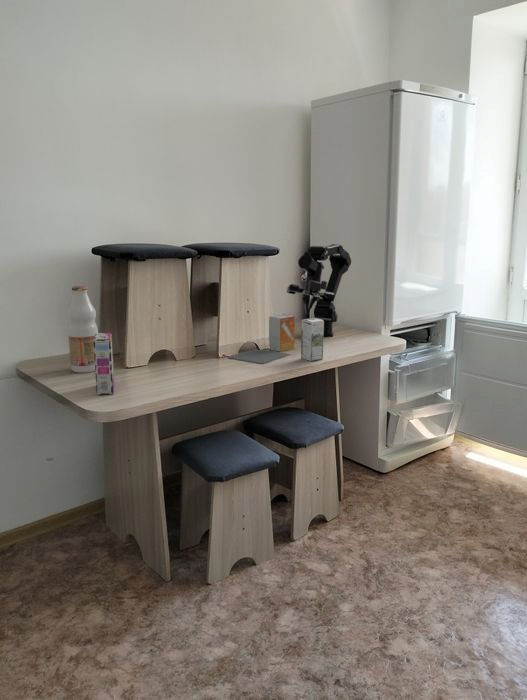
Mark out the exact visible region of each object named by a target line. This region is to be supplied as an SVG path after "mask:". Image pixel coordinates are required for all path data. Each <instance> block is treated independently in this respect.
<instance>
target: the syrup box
mask: <svg viewBox="0 0 527 700" xmlns="http://www.w3.org/2000/svg"><path fill="white" fill-rule="evenodd" d="M323 335H324V321H323V320H321V319H318V318H315V317H312V318H306V319H305V318H304V319H301V336H300V337H301V338H300V341H301V342H300V343H301V347H300V348H301V349H300V359H302V358H303V359H302V360H305V359H306V360H305V361H308V360H309V361H308V362H314V360H315V361H320V359H321V360H324V336H323Z"/></svg>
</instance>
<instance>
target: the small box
mask: <svg viewBox="0 0 527 700" xmlns="http://www.w3.org/2000/svg"><path fill="white" fill-rule="evenodd" d="M295 321H296V320H295V315H290V314H285V313H283V314H277V315H273V316H272V315H271V316H268V350H269V349H271V350H270V351H274V352H278V351H279V352H280V353H282V352H285V350H286V351H290V349H291V350H294V349H295V324H296V323H295ZM269 347H270V348H269Z"/></svg>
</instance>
